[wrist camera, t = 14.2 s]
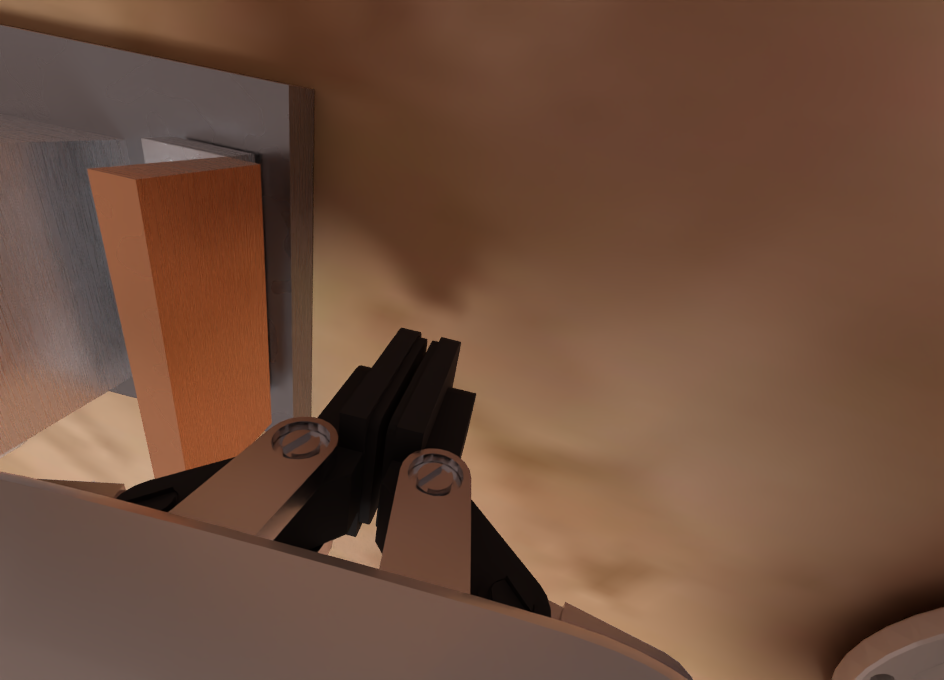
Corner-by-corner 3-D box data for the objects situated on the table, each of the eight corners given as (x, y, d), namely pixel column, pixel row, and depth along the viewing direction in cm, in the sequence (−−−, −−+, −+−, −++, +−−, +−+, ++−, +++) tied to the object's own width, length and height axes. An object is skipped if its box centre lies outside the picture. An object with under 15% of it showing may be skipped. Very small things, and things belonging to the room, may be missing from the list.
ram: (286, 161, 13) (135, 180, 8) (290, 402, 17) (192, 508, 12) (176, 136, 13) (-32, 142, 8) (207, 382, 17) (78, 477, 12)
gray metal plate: (314, 89, 13) (256, 79, 11) (310, 417, 19) (273, 463, 17) (-129, -3, 14) (-284, -34, 12) (-2, 338, 20) (-85, 369, 18)
